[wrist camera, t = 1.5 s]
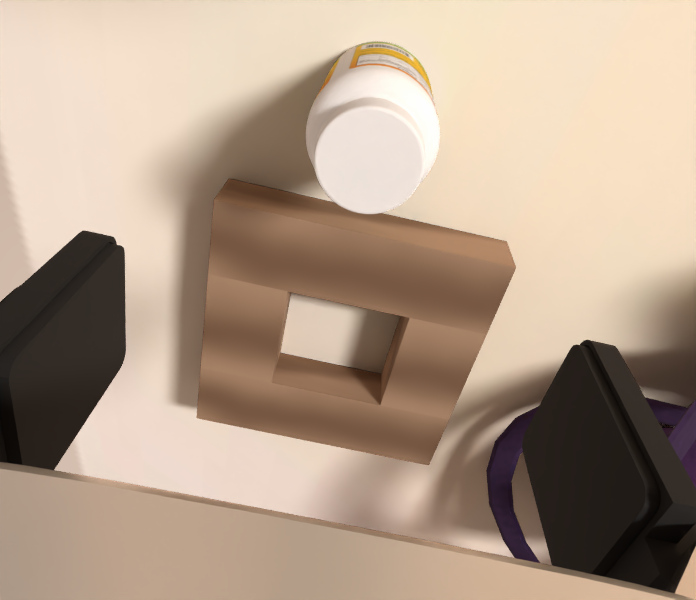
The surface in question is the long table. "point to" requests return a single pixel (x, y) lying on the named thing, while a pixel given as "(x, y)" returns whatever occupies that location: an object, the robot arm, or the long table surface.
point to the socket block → (353, 289)
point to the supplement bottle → (373, 128)
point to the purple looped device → (686, 438)
